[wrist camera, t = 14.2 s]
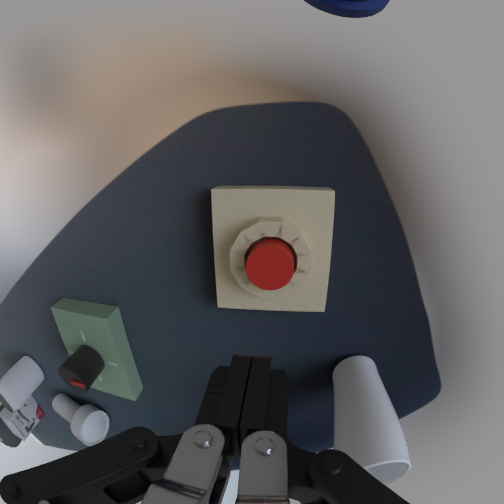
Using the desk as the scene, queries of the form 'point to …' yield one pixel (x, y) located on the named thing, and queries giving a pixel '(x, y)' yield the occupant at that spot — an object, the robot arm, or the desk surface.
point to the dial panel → (100, 343)
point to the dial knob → (82, 369)
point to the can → (20, 383)
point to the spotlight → (82, 419)
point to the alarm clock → (7, 434)
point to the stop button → (270, 264)
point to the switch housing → (272, 227)
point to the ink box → (23, 418)
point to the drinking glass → (368, 421)
